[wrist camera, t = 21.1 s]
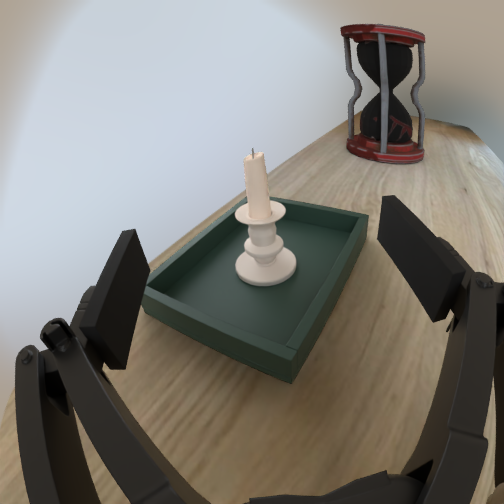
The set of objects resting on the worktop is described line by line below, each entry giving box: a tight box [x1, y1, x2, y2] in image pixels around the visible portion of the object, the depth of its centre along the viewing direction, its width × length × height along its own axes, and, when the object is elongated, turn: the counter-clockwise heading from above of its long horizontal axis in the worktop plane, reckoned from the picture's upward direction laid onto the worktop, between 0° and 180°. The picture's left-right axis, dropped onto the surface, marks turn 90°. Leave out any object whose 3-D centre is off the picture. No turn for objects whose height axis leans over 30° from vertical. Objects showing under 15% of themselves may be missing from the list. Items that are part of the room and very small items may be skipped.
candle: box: [235, 148, 296, 286], centre depth 23 cm, size 5×5×10 cm
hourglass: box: [341, 24, 425, 164], centre depth 45 cm, size 16×16×25 cm
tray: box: [141, 197, 369, 384], centre depth 25 cm, size 18×14×3 cm
